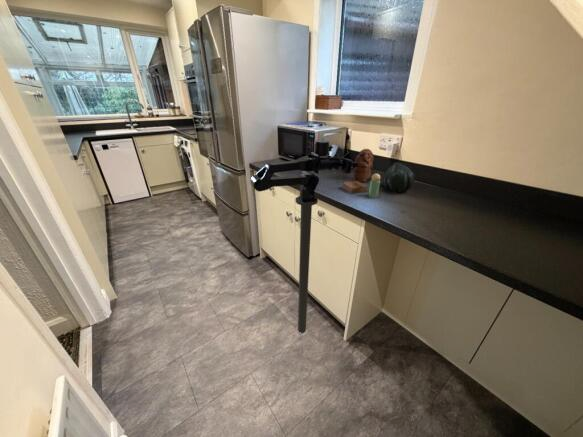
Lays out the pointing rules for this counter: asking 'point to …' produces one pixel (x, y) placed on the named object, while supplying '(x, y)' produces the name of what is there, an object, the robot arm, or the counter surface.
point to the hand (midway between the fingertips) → (352, 161)
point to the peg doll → (374, 186)
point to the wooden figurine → (363, 165)
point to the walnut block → (354, 187)
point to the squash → (398, 178)
